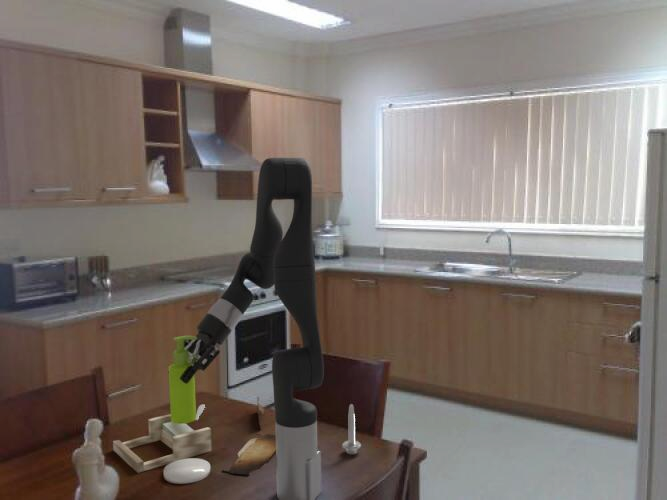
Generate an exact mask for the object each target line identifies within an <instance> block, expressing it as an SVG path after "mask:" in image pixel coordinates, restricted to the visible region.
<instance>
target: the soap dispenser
mask: <svg viewBox="0 0 667 500" xmlns="http://www.w3.org/2000/svg"><path fill="white" fill-rule="evenodd" d="M197 339H198V338H197V337H196V335H181V336H175V337H173V341H174V342H176V349H175V350H174V351H173V363H172V364H170V365H169V366H168V371H169V374H168V379H169V380H168V384H169V385H168V386H169V404H170V406H169V407H170V410H169V411H170V414H171V422H173V423H176V424H184V423H186V424H189V423H192V422H194V421H196V420H195V419H196V414H197V405H196V401H197V400H196V378H195V375H196V374H194V376H193V377H192V378H191V380H190V381H189V382H188V383H187V384H186V383H184V382H183V381H181V380H180V377H181V375H182V374H183V373H184V371H185V370H186V369H187V367H188V366H191V365H190V364H191V362H190V361H189V360H188V350H186V349H184V340H197Z"/></svg>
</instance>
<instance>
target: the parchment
mask: <svg viewBox="0 0 667 500" xmlns="http://www.w3.org/2000/svg"><path fill="white" fill-rule="evenodd" d="M255 436H257V437H255V438H250V439H249V440H248V441H247V442H246V443H245V445H244V446H243V447H242V448H241V449H240V450H239V451H238V453H237V455H238V458H237V459H236V461H234V463H233V465H231V467H230V469H229V470H223V469H222V472H224V473H225V472H226V473H229V474H233V475H241V476H247V477H249V476H250V473H253V471H257V470H260V469H261V467H262V466H264V465H265V464H268V463H269V461H270V459H271V458H272V457H273V455H274V454H276V434H264V435H260V434H255ZM239 461H241V462H239Z"/></svg>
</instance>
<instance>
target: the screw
mask: <svg viewBox="0 0 667 500" xmlns="http://www.w3.org/2000/svg"><path fill="white" fill-rule="evenodd" d="M355 415H356V414H355V407H354V404H352V403H350V404H349V406H348V415H347V416H348V417H347V418H348V419H347V421H348V422H347V423H348V424H347V425H348V426H347V427H348V428H347V430H348V432H347V434H348V435H347V436H348V437H347V438H348V439H347V440H345V441H344V442H343V443H342V445H341V446H342V448H343V449H345V450H346V451H345V453H347V454H348V455H355V454H357V453H358V449H360V448H361V447H362V444H361V443H360V442H359V441H358V440H356V423H355V422H356V418H355V417H356V416H355Z"/></svg>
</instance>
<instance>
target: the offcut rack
mask: <svg viewBox="0 0 667 500" xmlns="http://www.w3.org/2000/svg"><path fill="white" fill-rule="evenodd" d="M147 421H148V422H147V423H148V435H146V436H141V437H137V438H133V439H130V440H127V441H123V442H122V441H121V440H120V439H117V440H113V441H112V447H113V448H112V449H113V452H114V453H116V454H117V455H118V456H119V457H120V458H121V459H122V460H123V461H124V462H125V463H126V464H127V465H128V466H130V467H131V468H132V469H133V470H134V471H135V472H136V473H137V474H140V473H143V472H145V471H149V470H153V469H155V468H158V467H162V466H167V465H168V464H170V463H172V462H174V461H177V460H181V459H188V458H193V457H196V456H199V455H202V454H205V453H209V452H212V429H211V428H210V427H203V428H200V429H196V430H194V429H193V428H191V426H189V425H188V423H184V424H176V423H173V422H171V413H169V414H166V415H161V416H156V417H152V418H149V419H147ZM158 441H160V442H161V443H164V444H165V445H166V446H167V447H169V448H170V449H171V450H172V453H171V454H169V455H165V456H162V457H158V458H154V459H151V460H147V461H144V460H143V459H142V458H141V457H139V456H138V455H137V454H136V453H135V452H134V451H133V450H131V449H133V448H136V447H139V446H143V445H147V444H151V443H154V442H158Z"/></svg>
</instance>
